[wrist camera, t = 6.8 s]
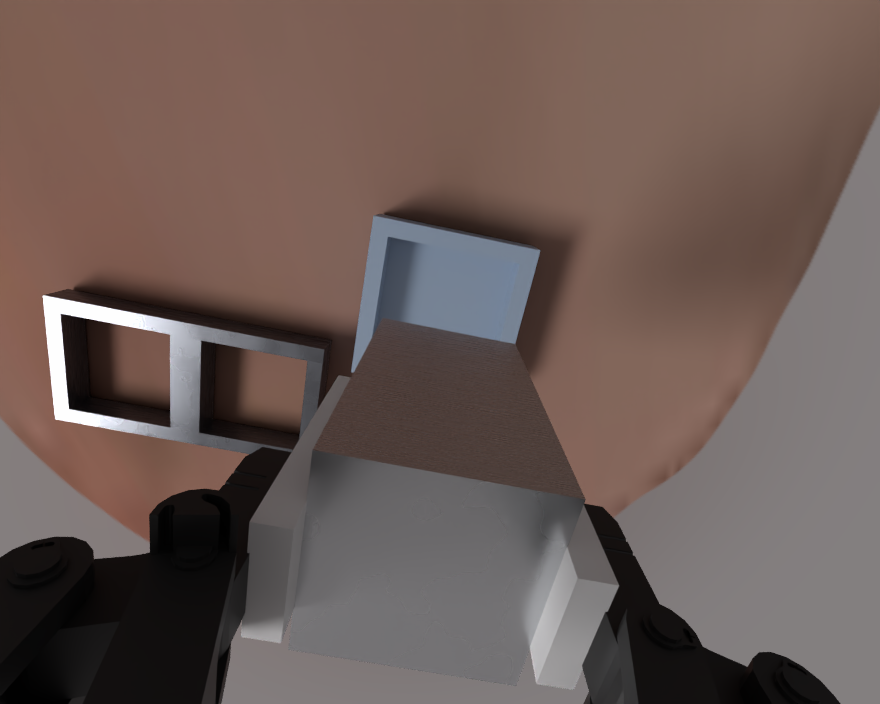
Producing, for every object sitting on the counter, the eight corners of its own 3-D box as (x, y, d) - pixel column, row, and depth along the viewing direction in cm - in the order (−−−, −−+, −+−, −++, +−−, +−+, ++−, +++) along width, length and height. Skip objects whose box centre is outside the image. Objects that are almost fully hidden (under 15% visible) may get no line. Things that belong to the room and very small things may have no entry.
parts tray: (379, 213, 28) (373, 215, 26) (532, 245, 29) (540, 250, 26) (358, 358, 32) (351, 372, 29) (495, 385, 32) (499, 400, 30)
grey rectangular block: (382, 317, 16) (312, 450, 8) (515, 343, 17) (585, 499, 8) (363, 435, 18) (288, 649, 10) (484, 457, 18) (516, 685, 10)
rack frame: (68, 288, 30) (42, 295, 28) (331, 340, 31) (324, 349, 29) (77, 406, 33) (55, 419, 31) (317, 449, 34) (310, 464, 32)
